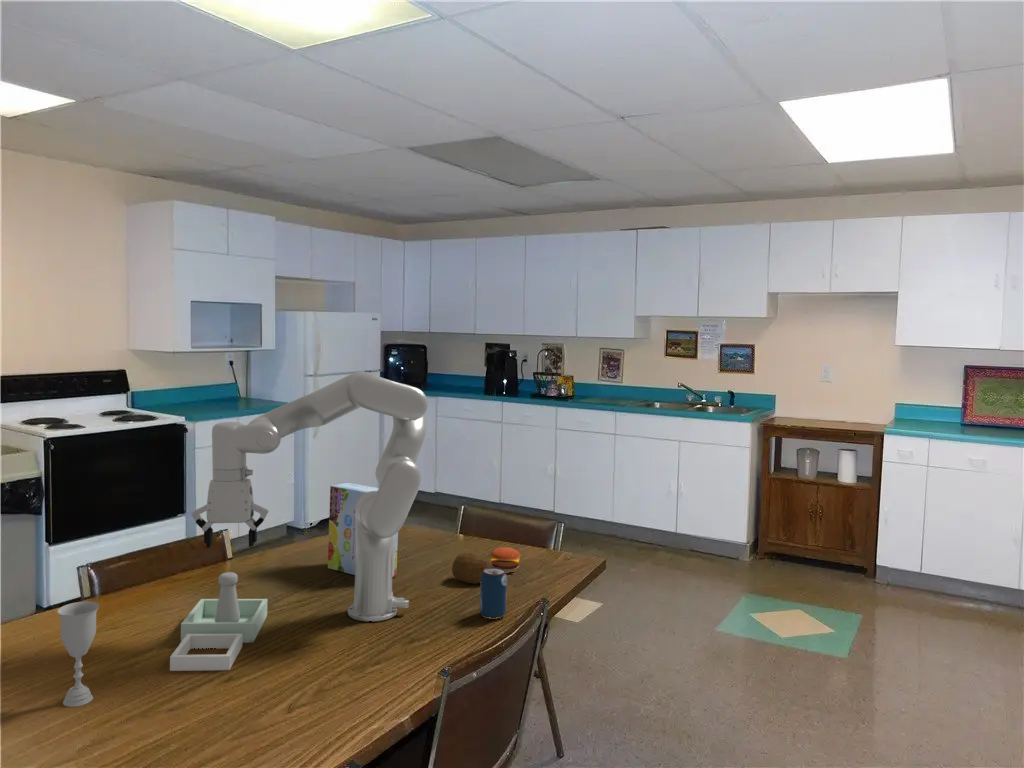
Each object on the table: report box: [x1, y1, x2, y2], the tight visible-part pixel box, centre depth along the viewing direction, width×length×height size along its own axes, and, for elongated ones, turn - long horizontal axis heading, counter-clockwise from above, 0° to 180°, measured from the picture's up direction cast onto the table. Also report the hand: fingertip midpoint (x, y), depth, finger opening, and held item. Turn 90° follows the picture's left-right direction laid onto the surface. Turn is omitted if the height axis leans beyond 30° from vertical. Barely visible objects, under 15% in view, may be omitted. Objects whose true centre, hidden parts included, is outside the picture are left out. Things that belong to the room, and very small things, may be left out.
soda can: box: [478, 567, 508, 618], centre depth 195 cm, size 7×7×12 cm
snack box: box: [327, 482, 399, 578], centre depth 225 cm, size 22×9×26 cm, turn 58°
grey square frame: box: [169, 634, 244, 672], centre depth 163 cm, size 12×12×3 cm
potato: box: [451, 552, 492, 584], centre depth 220 cm, size 8×12×9 cm
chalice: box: [57, 600, 100, 708], centre depth 143 cm, size 7×7×18 cm
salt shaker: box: [214, 571, 240, 622], centre depth 179 cm, size 6×6×13 cm
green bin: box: [180, 598, 268, 644], centre depth 179 cm, size 16×16×4 cm
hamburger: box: [489, 546, 522, 570], centre depth 235 cm, size 9×10×7 cm
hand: (230, 545), depth 178 cm, fingers open, 9 cm apart
